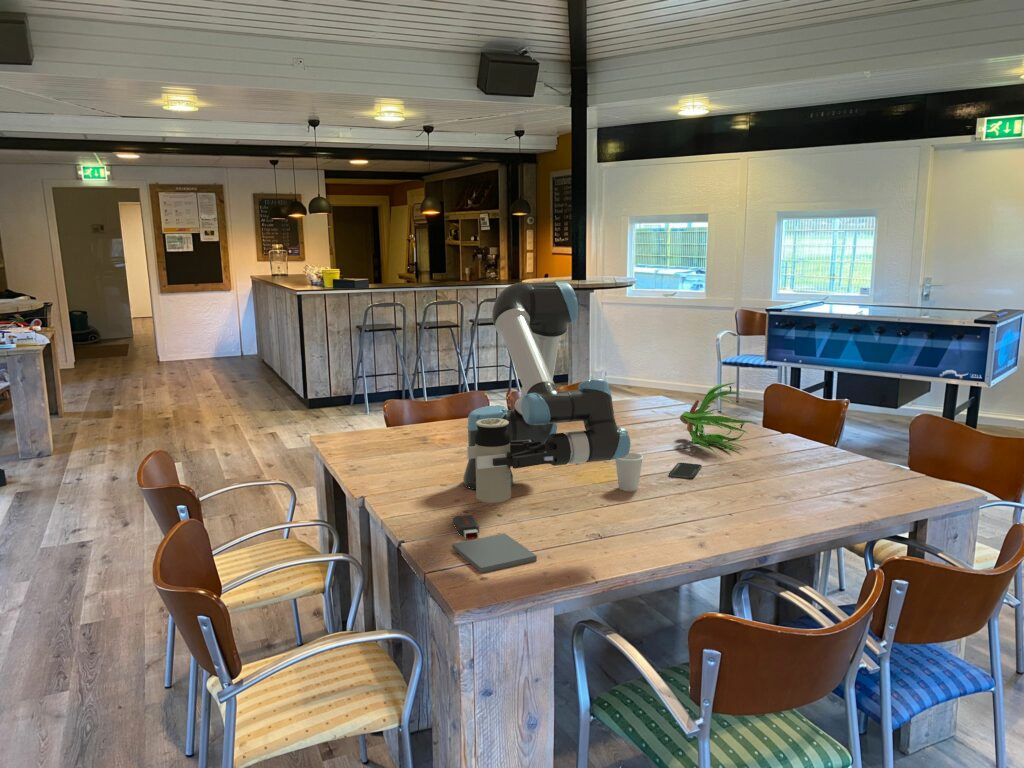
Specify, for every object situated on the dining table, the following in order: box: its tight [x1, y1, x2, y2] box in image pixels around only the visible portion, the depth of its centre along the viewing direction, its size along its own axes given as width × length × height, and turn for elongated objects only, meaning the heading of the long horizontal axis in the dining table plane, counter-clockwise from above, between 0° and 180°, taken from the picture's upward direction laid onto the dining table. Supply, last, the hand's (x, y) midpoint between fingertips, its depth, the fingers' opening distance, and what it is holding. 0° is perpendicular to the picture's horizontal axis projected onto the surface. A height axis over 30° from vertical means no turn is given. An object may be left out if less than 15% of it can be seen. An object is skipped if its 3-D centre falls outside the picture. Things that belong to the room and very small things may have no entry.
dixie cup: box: [615, 451, 644, 492], centre depth 223 cm, size 8×8×10 cm
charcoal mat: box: [452, 532, 538, 574], centre depth 176 cm, size 16×14×1 cm
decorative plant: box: [679, 382, 753, 453], centre depth 271 cm, size 26×25×30 cm
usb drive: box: [452, 514, 480, 540], centre depth 192 cm, size 5×12×3 cm, turn 15°
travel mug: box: [475, 418, 512, 504], centre depth 172 cm, size 8×8×18 cm
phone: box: [668, 462, 703, 480], centre depth 240 cm, size 8×1×15 cm
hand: (472, 457), depth 171 cm, fingers closed on travel mug, 8 cm apart
